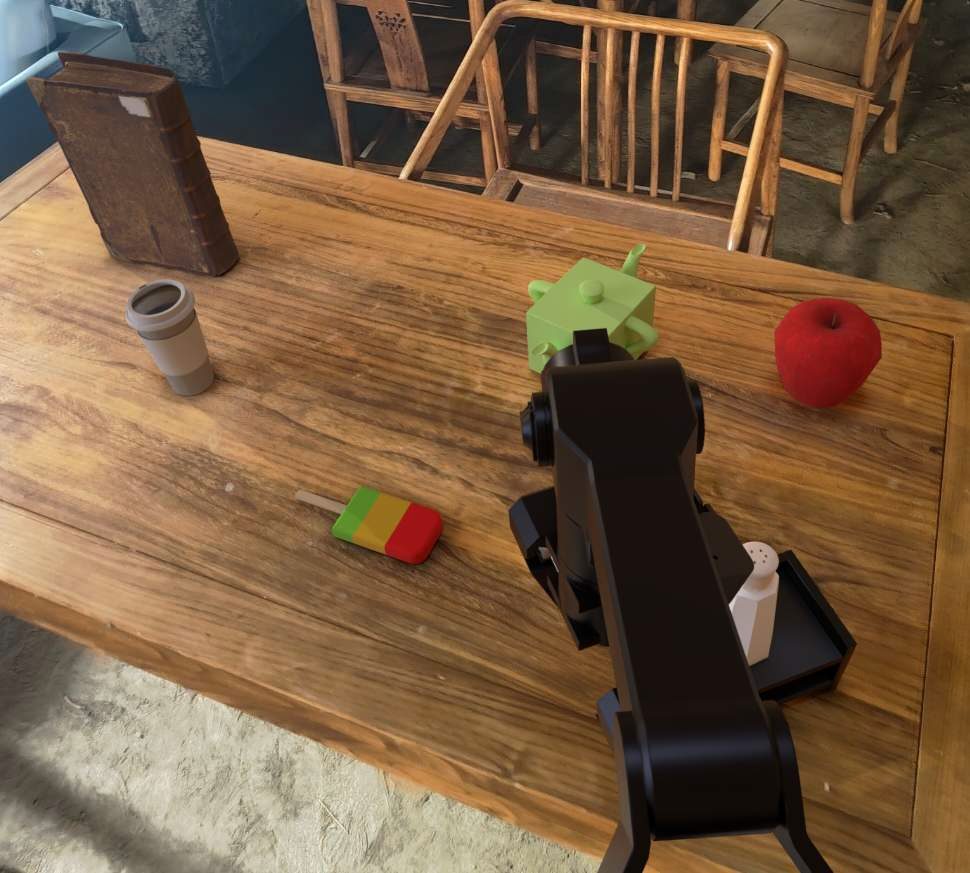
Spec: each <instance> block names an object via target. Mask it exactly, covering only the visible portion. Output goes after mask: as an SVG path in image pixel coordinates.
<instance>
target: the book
mask: <svg viewBox="0 0 970 873" xmlns="http://www.w3.org/2000/svg"><path fill="white" fill-rule="evenodd" d="M57 56H58V59H59V61H60V63H61V65H62V68H63V69H62V70H60V71H59V72H56V74H54V75H52V76H51V77H49V78H44V77H36V76H27V77H26V83H27V86H28V87H29V90H30V92H31V94H32V95H33V97H34V99H35V101H36V103H37V106H39V107H40V110H41V111H42V113H43V114H44V116H45V117H46V120H47V125H48V127H49V129H50V131H51V133H52V135H53V137H54V138H55V139H56V141H57V143H58V144H59V147H60V149H61V150H62V153H63V156H64V157H65V160H66V161H67V164H68V166H69V169H70V171H71V172H72V175H73V176H74V179H75V181H76V182H77V185H78V187H79V189H80V191H81V193H82V195H83V198H84V200H85V201H86V204H87V206H88V209H89V213H90V215H91V218H92V219H93V222H94V223H95V225H97V227H98V230H99V232H100V237H101V239H102V241H103V244H104V246H105V248H106V250H107V253H108V255H109V257H110V258H111V259H114V260H116V261H121V262H126V263H133V264H138V265H141V264H142V265H150V266H155V267H163V268H169V269H175V270H180V271H183V272H188V273H190V274H193V275H198V276H202V277H210V278H214V277H216V276H221V275H222V274H224V273H225V272H226V271H227V270H229V269H230V268H231V267H232V266H233V265H234V264H235V263H236V262H237V261H238V259H239V257H240V253H239V250H238V247H237V245H236V243H235V241H234V237H233V236H232V233H231V230H230V222H228V221H227V218H226V216H225V212H224V211H223V207H222V205H221V199H220V196H219V195H218V194H217V190H216V187H215V184H214V182H213V179H212V176H211V175H212V174H211V171H210V169H209V167H208V164H207V162H206V159H205V156H204V153H203V151H202V147H201V145H202V144H201V140H200V139H199V137H198V136H197V132H196V130H195V126H194V124H193V121H192V117H191V111H190V109H189V108H188V105H187V102H186V98H185V95H184V92H183V90H182V86H181V83H180V80H179V77H178V74H176V73H175V72H174V71H173V70H172V69H171V68H170V67H166V66H161V65H157V64H150V63H139V62H134V61H133V62H132V61H127V60H121V59H116V58H115V59H114V58H106V57H100V56H94V55H90V54H88V53H83V52H74V51H73V52H71V51H61V50H60V51H57Z"/></svg>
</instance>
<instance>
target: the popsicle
mask: <svg viewBox="0 0 970 873" xmlns="http://www.w3.org/2000/svg"><path fill="white" fill-rule="evenodd" d="M294 498H295V499H296V500H299V501H301V502H304V503H307V504H309V505H312V506H316V507H319V508H322V509H323V510H324V509H325V510H327V511H330V512H333V513H336V514H338V515H339V517H338V518H337V520H336V521H335V523H334V524H333V526H332V527H331V533H332V535H333V537H335V538H338V539H341V540H344V541H347V542H349V543H352V544H353V545H354V544H355V545H357V546H360V547H364V548H366V549H367V550H368V549H369V550H372V551H375V552H377V553H380V554H382V555H385V556H389V557H390V558H393V559H397V560H400V561H403V562H404V563H405V562H406V563H408V564H415V565H416V564H417V565H418V564H421V563H423V562H424V561H425V560H426V559H427V557H428V556H429V555H430V554H431V552H432V550H433V548H434V546H435V544H436V543H437V541H438V540H439V537H440V536H441V534H442V531H443V529H444V522H443V518H442V515H441V514H440V513H439V512H438V511H437V510H435V509H432V508H430V507H427V506H425V505H421V504H418V503H415V502H412V501H409V500H405V499H404V498H399V497H397V496H394V495H390V494H387V493H386V492H385V493H384V492H381V491H379V490H375V489H373V488H371V487H370V488H369V487H366V486H363V485H361V486H359V487H358V488H357V490H356V491H355V493H354V494H353V496H352V497H351V499H350V501H349V502H348V504H343V503H341V502H339V501H336V500H332V499H329V498H326V497H323V496H321V495H317V494H316V493H315V494H314V493H311V492H308V491H306V490H301V489H299V490H297V491H296V492H295V494H294Z"/></svg>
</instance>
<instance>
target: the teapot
mask: <svg viewBox="0 0 970 873" xmlns="http://www.w3.org/2000/svg"><path fill="white" fill-rule="evenodd" d="M645 250H646V244H645V243H638V244H637V245H635V246H634V247H632V249H631V250H630V252H629V253H628V255H627V256H626V258H625V261H624V263H623V265H622V267H621V269H620V270H617V269H614V268H611V267H609V266H607V265H604V264H602V263H599V262H596V261H594V260H591V259H588V258H587V257H582V258H581V259H580V260H578V261H577V262H576V263H575V264H574V265H573V266H572V267H571V268H570V269H569V270H567V272H566V273H565V274H564V275H563V276H561V277H560V279H558V281H557V282H556V283H555V282H551V281H548V280H545V279H544V280H543V279H535V280H532V281H531V282H530V283H528V286H527V291H528V294H529V296H530V298H531V300H532V301H533V303H534V304H533V305H532V306H531V307H530V308H528V310H527V311H526V312H525V318H526V320H525V321H526V337H527V340H526V341H527V358H528V369H529V370H532V371H534V372H536V373H538V374H540V375H541V371H542V370H543V369H544V366H545V364H546V363H547V362H548V360H549V359H550V358H551V357H552V356H553V355H554V354H556V353H557V352H558V351H560V350H561V349H563V348H565V347H567V346H569V345H572V344H573V331H576V330H588V329H600V328H607V332H608V337H609V342H611V343H614V344H617V345H619V346H621V347H622V348H624V349H626V350H627V351H628V352H629V353H630V354H631V355H632V356H633V358H634V360H638V359H639V358H640V356H642V354H643V353H644V352H646V351H649V350H651V349H653V348H654V347H655V346H656V345H657V344H658V342H659V339H660V335H659V332H658V331H657V330H656V329H655V328H654V318H655V317H654V314H655V303H656V293H657V286H656V285H654V284H651V283H649V282H647V281H644V280H641V279H639V278H638V270H639V264H640V262H641V258H642V256H643V255H644V252H645Z"/></svg>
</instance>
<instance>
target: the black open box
mask: <svg viewBox="0 0 970 873" xmlns="http://www.w3.org/2000/svg"><path fill="white" fill-rule="evenodd" d="M777 556H778V559H779V564H778V567H777V569H776V571H775V572H776V573H777V574H778V575H779V584H778V592H777V601H776V609H775V618H774V626H773V634H772V639H771V645H770V650H769V655H768V657H767V658H765V659H763V660H761V661H759V662H757V663H755V664H753V665H751V666H749V667H750V670H751V673H752V676H753V679H754V682H755V685H756V688H757V691H758V694H759V697H760V699H761V701H770V700H775V701H776V703H777V704H778V705H779V706H780V707H781V706H782V705H785V704H788V703H790V702H793V701H795V700H797V699H798V700H799V699H800V698H803V697H805V696H808V695H811V694H813V693H816V692H818V691H822V690H825V691H826V693H831V692H834V691H836V690H837V688H838V686H839V684H840V682H841V680H842V677H843V675H844V673H845V671H846V669H847V667H848V664H849V663H850V660H851V658H852V656H853V655H854V652H855V650H856V648H857V646H858V642H857V641H856V639H855V638H854V636H853V635H852V634H851V632H850V631H849V630H848V628H847V627H846V626H845V624H844V622H843V621H842V620H841V618H840V617H839V615H838V614H837V612H836V611H835V609H834V608H833V607H832V605H831V604H830V603H829V601H828V600H827V598H826V597H825V595H824V594H823V593H822V591H821V590H820V588H819V587H818V585H817V584H816V583H815V581H814V580H813V578H812V577H811V576H810V574H809V572H808V571H807V570H806V568H805V567H804V565H803V564H802V562H801V561H800V560H799V558H798V557H797V556H796V554H795V552H794V551H793V550H792V549H788V550H785V551H783V552H780V553H777Z"/></svg>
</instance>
